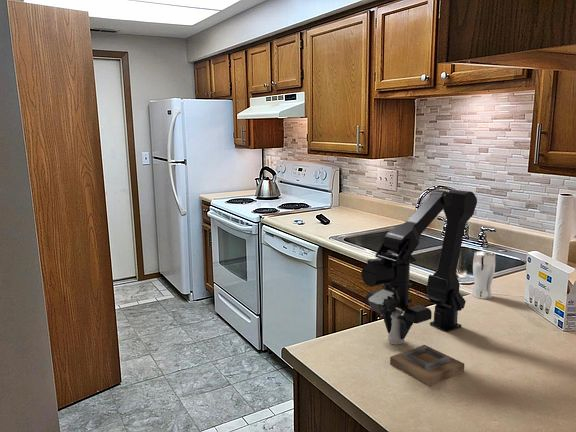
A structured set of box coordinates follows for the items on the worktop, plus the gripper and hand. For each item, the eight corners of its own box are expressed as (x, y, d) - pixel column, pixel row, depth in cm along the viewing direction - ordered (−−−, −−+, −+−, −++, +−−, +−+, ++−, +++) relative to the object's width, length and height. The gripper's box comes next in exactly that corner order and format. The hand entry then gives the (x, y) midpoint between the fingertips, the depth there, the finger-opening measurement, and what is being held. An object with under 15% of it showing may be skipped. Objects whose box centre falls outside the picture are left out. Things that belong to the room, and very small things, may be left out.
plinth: (424, 351, 121) (424, 340, 120) (463, 371, 111) (464, 358, 110) (390, 364, 114) (390, 352, 114) (428, 386, 104) (429, 372, 104)
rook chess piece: (392, 336, 129) (393, 308, 128) (407, 341, 126) (408, 312, 125) (384, 342, 126) (385, 313, 124) (399, 346, 123) (400, 317, 122)
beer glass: (483, 291, 166) (485, 250, 163) (497, 298, 159) (500, 255, 157) (466, 293, 164) (469, 251, 161) (480, 300, 157) (483, 256, 155)
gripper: (350, 276, 127) (350, 330, 129) (402, 295, 111) (400, 357, 114) (381, 269, 133) (380, 321, 135) (434, 287, 117) (431, 346, 120)
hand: (396, 335), depth 126 cm, fingers closed on rook chess piece, 4 cm apart
